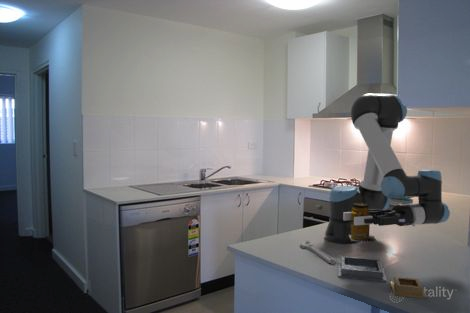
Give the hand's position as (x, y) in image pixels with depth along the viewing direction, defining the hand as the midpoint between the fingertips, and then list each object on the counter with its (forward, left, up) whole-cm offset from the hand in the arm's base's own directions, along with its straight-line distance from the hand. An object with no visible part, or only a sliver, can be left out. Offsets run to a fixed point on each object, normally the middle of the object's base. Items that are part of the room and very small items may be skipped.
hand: (349, 218), depth 128 cm
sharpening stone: (-110, +27, -19) cm, 115 cm away
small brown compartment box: (+10, +17, -19) cm, 27 cm away
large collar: (-3, +4, -19) cm, 19 cm away
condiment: (-2, +5, -7) cm, 9 cm away
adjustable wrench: (-18, -12, -19) cm, 29 cm away
